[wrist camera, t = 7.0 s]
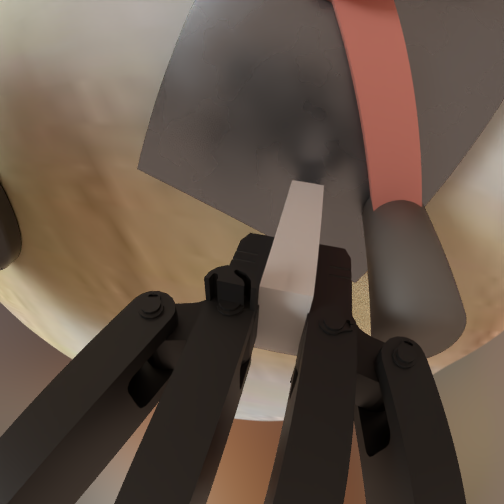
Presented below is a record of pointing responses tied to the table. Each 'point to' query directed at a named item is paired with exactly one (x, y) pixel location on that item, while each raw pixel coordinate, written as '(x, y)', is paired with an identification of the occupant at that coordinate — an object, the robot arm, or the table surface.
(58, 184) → the table surface
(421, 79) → the base
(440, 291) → the lever
